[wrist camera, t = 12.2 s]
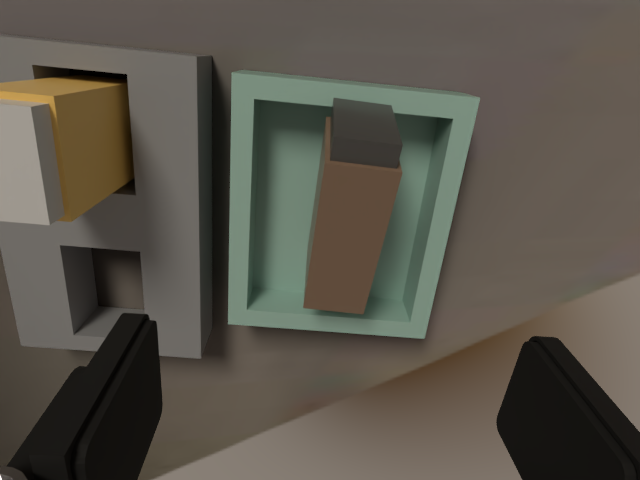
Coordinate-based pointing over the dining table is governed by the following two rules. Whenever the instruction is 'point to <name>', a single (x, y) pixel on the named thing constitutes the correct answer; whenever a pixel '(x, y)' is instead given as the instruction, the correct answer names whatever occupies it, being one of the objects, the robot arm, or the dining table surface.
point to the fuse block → (123, 206)
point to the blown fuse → (351, 204)
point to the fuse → (62, 146)
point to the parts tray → (299, 193)
